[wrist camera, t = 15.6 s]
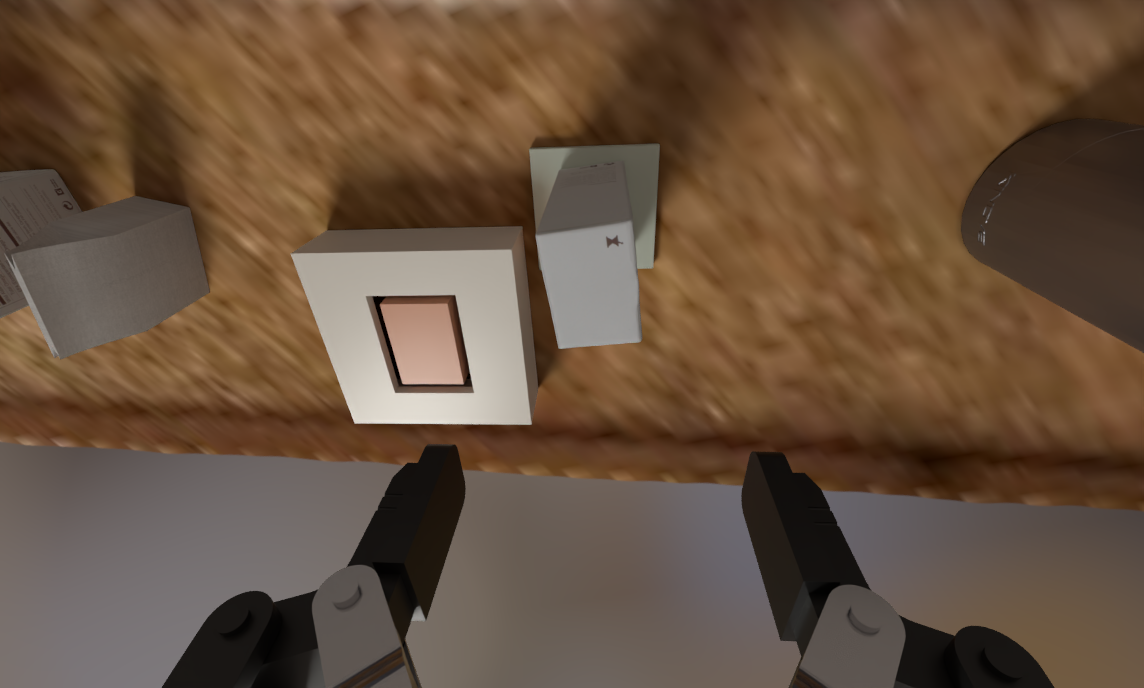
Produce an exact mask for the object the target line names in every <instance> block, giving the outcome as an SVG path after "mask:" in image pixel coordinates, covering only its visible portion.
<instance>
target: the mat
mask: <svg viewBox="0 0 1144 688" xmlns="http://www.w3.org/2000/svg"><path fill="white" fill-rule="evenodd" d="M659 152H660V145H659V144H629V145H599V146H570V147H540V148H530V149H529V153H530V165H531V177H532V189H533V201H534V213H535V225H536V232H537V229H538V227H539V224H540V221H541V218H542V216H543V213H544V210H545V207H546V205H547V202H548V199H549V196H550V193H551V191H552V188H553V186H554V183H555V180H556V177H557V174H558V172H559V170H561V169H568V168H575V167H582V166H588V165H594V164H601V163H608V162H615V161H624V164H625V170H626V177H627V184H628V190H629V196H630V203H631V208H632V214H633V224H634V235H635V246H636V258H637V269H638V268H653V261H654V243H655V224H656V206H657V188H658V170H659ZM537 249H538V247H537ZM538 262H539V270H542V269H541V264H540V258H539V252H538Z"/></svg>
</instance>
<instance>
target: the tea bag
mask: <svg viewBox="0 0 1144 688" xmlns="http://www.w3.org/2000/svg"><path fill="white" fill-rule="evenodd" d="M4 254H5V256H6V258H7V260H8V262H9V264H10V266H11V268H12V270H13V272H14V275H15V277H16V279H17V281H18V283H19V285H20V287H21V289H22V291H23V293H24V295H25V298H26V300H27V302H28V304H29V306H30V308H31V310H32V312H33V314H34V316H35V318H36V320H37V323H38V325H39V327H40V329H41V331H42V333H43V335H44V337H45V339H46V341H47V343H48V346H49V348H50V350H51V352H52V354H53V356H54V358H56V357H57V356H59V358H60V359H63V358H65V357H68V356H70V355H73V354H75V353H78V352H81V351H84V350H87V349H90V348H92V347H95V346H98V345H102V344H105V343H108V342H112V341H115V340H118V339H121V338H125V337H128V336H131V335H135V334H138V333H141V332H145V331H148V330H149V329H151V328H152V327H154V326H156V325H157V324H159V323H161V322H162V321H164V320H166V319H167V318H169V317H170V316H172V315H174V314H175V313H177V312H179V311H180V310H182V309H183V308H185V307H187V306H188V305H190V304H192V303H193V302H195V301H197V300H198V299H200V298H201V297H203V296H205V295H206V294H208V293H210V291H209V287H208V282H207V278H206V274H205V270H204V266H203V261H202V257H201V253H200V249H199V245H198V241H197V236H196V232H195V228H194V224H193V220H192V215H191V211H190V207H186V206H181V205H176V204H171V203H167V202H162V201H157V200H152V199H148V198H143V197H138V196H133V197H130V198H127V199H124V200H120V201H117V202H114V203H111V204H107V205H104V206H101V207H98V208H94V209H91V210H88V211H85V212H81V213H78V214H75V215H72V216H68V217H65V218H62V219H59V220H55V221H52V222H50V223H49V224H47V225H46V226H45V227H44V228H42V229H41V230H40V231H39V232H37V233H36V234H35V235H34V236H32V237H31V238H30V239H29V240H27V241H25V242H24V243H22V244H21V245H19V246H17V247H16V248H14V249H11V250H9V251H7V252H5V253H4Z"/></svg>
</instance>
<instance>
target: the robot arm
mask: <svg viewBox="0 0 1144 688" xmlns="http://www.w3.org/2000/svg"><path fill="white" fill-rule="evenodd" d="M961 233H962V237H963V242H964V244H965V246H966V248H967V249H968V251H969V253H970V254H971V255H972V256H974V257H975V258H976V259H977V260H978V261H980V262H982V263H983V264H985V265H987V266H989V267H991V268H992V269H994V270H996V271H998V272H1000V273H1001V274H1003V275H1005V276H1007V277H1009V278H1010V279H1012V280H1014V281H1016V282H1018V283H1019V284H1021V285H1022V286H1024V287H1026V288H1028V289H1030V290H1031V291H1033V292H1035V293H1037V294H1039V295H1040V296H1042V297H1044V298H1046V299H1048V300H1049V301H1051V302H1053V303H1055V304H1057V305H1058V306H1060V307H1062V308H1064V309H1066V310H1067V311H1069V312H1071V313H1073V314H1075V315H1076V316H1078V317H1080V318H1082V319H1084V320H1085V321H1087V322H1089V323H1091V324H1093V325H1094V326H1096V327H1098V328H1100V329H1102V330H1103V331H1105V332H1107V333H1109V334H1111V335H1112V336H1114V337H1116V338H1118V339H1120V340H1121V341H1123V342H1125V343H1127V344H1129V345H1130V346H1132V347H1134V348H1136V349H1138V350H1139V351H1141V352H1143V353H1144V126H1143V125H1136V124H1129V123H1121V122H1114V121H1106V120H1099V119H1074V120H1070V121H1065V122H1061V123H1056V124H1054V125H1051V126H1049V127H1046V128H1044V129H1041V130H1039V131H1036V132H1034V133H1033V134H1031V135H1029V136H1027V137H1026V138H1024V139H1022V140H1021V141H1019V142H1017V143H1016V144H1015V145H1013V146H1012V147H1011V148H1009V149H1008V150H1007V151H1006V152H1004V153H1003V154H1002V155H1000V156H999V157H998V158H997V159H996V160H995V161H994V163H993V164H992V165H991V166H990V167H989V168H988V169H987V170H986V171H985V172H984V173H983V175H982V176H981V178H980V179H979V180H978V182H977V183H976V184H975V186H974V188H973V190H972V191H971V193H970V195H969V197H968V199H967V201H966V204H965V208H964V211H963V215H962V223H961ZM464 499H465V480H464V475H463V471H462V466H461V462H460V458H459V453H458V449H457V447H456V445H448V444H428V445H427V446H426V447H425V449H424V451H423V453H422V455H421V457H420V459H419V462H418V463H407V464H406V465H405V466H404V467H403V468H402V469H401V470H400V471H399V472H398V473H397V474H396V475H395V476H394V477H393V478H392V480H391V482H390V484H389V486H388V488H387V490H386V492H385V496H384V497H383V498H382V500H381V502H380V504H379V506H378V510H377V511H376V512H375V514H374V516H373V518H372V519H371V522H370V524H369V526H368V527H367V529H366V531H365V533H364V535H363V537H362V539H361V541H360V543H359V545H358V547H357V549H356V551H355V553H354V555H353V557H352V559H351V561H350V562H349V564H348V566H347V567H346V568H343V569H341V570H339V571H337V572H336V573H334V574H333V575H331V576H330V577H329V578H328V579H327V580H326V581H325V582H324V583H323V584H322V585H321V586H320V588H319V589H318V590H316V591H313V592H310V593H307V594H303V595H299V596H296V597H292V598H288V599H285V600H281V601H277V602H273V601H272V599H271V598H270V597H269V596H268V595H267V594H266V593H264V592H260V591H249V592H245V593H242V594H239V595H237V596H235V597H233V598H231V599H229V600H227V601H226V602H224V603H223V604H222V605H220V606H219V607H218V608H217V609H216V610H215V611H214V612H212V614H211V615H210V616H209V617H208V618H207V619H206V621H205V622H204V624H203V625H202V627H201V628H200V630H199V631H198V633H197V634H196V636H195V637H194V639H193V640H192V642H191V643H190V645H189V646H188V648H187V649H186V651H185V653H184V654H183V656H182V657H181V659H180V660H179V662H178V663H177V665H176V666H175V668H174V669H173V671H172V672H171V674H170V675H169V677H168V679H167V680H166V682H165V683H164V685H163V686H162V688H422V686H421V683H420V680H419V677H418V675H417V671H416V669H415V665H414V663H413V660H412V657H411V654H410V651H409V648H408V645H407V642H406V639H405V637H406V634H407V631H408V628H409V626H410V622H411V621H426V619H427V616H428V613H429V610H430V607H431V604H432V600H433V597H434V594H435V591H436V588H437V585H438V582H439V579H440V576H441V573H442V569H443V566H444V563H445V560H446V557H447V554H448V551H449V548H450V545H451V541H452V538H453V535H454V532H455V529H456V526H457V523H458V520H459V516H460V513H461V510H462V507H463V504H464ZM742 509H743V514H744V517H745V521H746V524H747V528H748V531H749V534H750V538H751V541H752V545H753V548H754V551H755V555H756V558H757V562H758V565H759V569H760V571H761V575H762V579H763V582H764V585H765V589H766V592H767V596H768V599H769V603H770V606H771V609H772V613H773V616H774V620H775V623H776V626H777V630H778V633H779V637H780V640H781V641H797V645H798V648H799V651H800V654H801V659H800V661H799V664H798V666H797V668H796V671H795V673H794V676H793V678H792V680H791V683H790V685H789V688H1054V686H1053V685H1052V683H1051V682H1050V680H1049V679H1048V677H1047V675H1046V674H1045V672H1044V671H1043V669H1042V668H1041V667H1040V665H1039V664H1038V663H1037V661H1036V660H1035V659H1034V658H1033V657H1032V656H1031V655H1030V654H1029V653H1028V652H1027V651H1026V650H1025V649H1024V648H1023V647H1021V646H1020V645H1019V644H1018V643H1016V642H1015V641H1013V640H1012V639H1010V638H1009V637H1007V636H1005V635H1003V634H1001V633H1000V632H997V631H995V630H992V629H989V628H986V627H981V626H968V627H965V628H962V629H961V630H960V631H958V633H957V634H956V635H955V636H953V635H951V634H947V633H945V632H942V631H939V630H935V629H933V628H929V627H927V626H924V625H921V624H918V623H915V622H913V621H910V620H908V619H906V618H904V617H902V616H900V615H898V614H897V612H896V611H895V610H894V608H893V607H892V606H891V605H890V604H889V603H888V602H887V601H886V600H884V599H883V598H882V597H881V596H879V595H878V594H876V593H874V592H873V591H871V589H870V588H869V586H868V584H867V583H866V581H865V578H864V576H863V574H862V572H861V570H860V568H859V566H858V564H857V562H856V560H855V558H854V556H853V554H852V552H851V550H850V548H849V546H848V544H847V542H846V540H845V538H844V536H843V534H842V531H841V529H840V527H838V526H837V521H836V519H835V517H834V515H833V513H832V511H830V507H829V505H828V503H827V501H826V499H825V497H824V495H823V492H822V490H821V489H820V488H819V487H818V486H817V485H816V484H815V483H814V482H813V481H812V480H811V479H810V478H809V477H808V476H807V475H806V474H805V473H792V470H791V468H790V466H789V464H788V461H787V459H786V457H785V455H784V454H783V453H782V452H751V454H750V457H749V461H748V466H747V470H746V475H745V479H744V483H743V488H742Z"/></svg>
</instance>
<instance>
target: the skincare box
mask: <svg viewBox="0 0 1144 688" xmlns="http://www.w3.org/2000/svg"><path fill="white" fill-rule="evenodd" d="M536 242H537V247H538V252H539V258H540V264H541V269H542V274H543V279H544V283H545V287H546V291H547V296H548V300H549V304H550V309H551V314H552V319H553V324H554V329H555V333H556V338H557V343H558V348H559V349H564V348H573V347H584V346H597V345H610V344H622V343H637V342H640V341H641V340H642V328H641V315H640V303H639V281H638V271H637V258H636V246H635V235H634V224H633V214H632V208H631V203H630V196H629V190H628V184H627V177H626V170H625V164H624V161H615V162H608V163H601V164H594V165H588V166H582V167H575V168H568V169H561V170H559V172H558V174H557V177H556V180H555V183H554V186H553V188H552V191H551V193H550V196H549V199H548V202H547V205H546V207H545V210H544V213H543V216H542V218H541V221H540V224H539V227H538V229H537V232H536Z"/></svg>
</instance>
